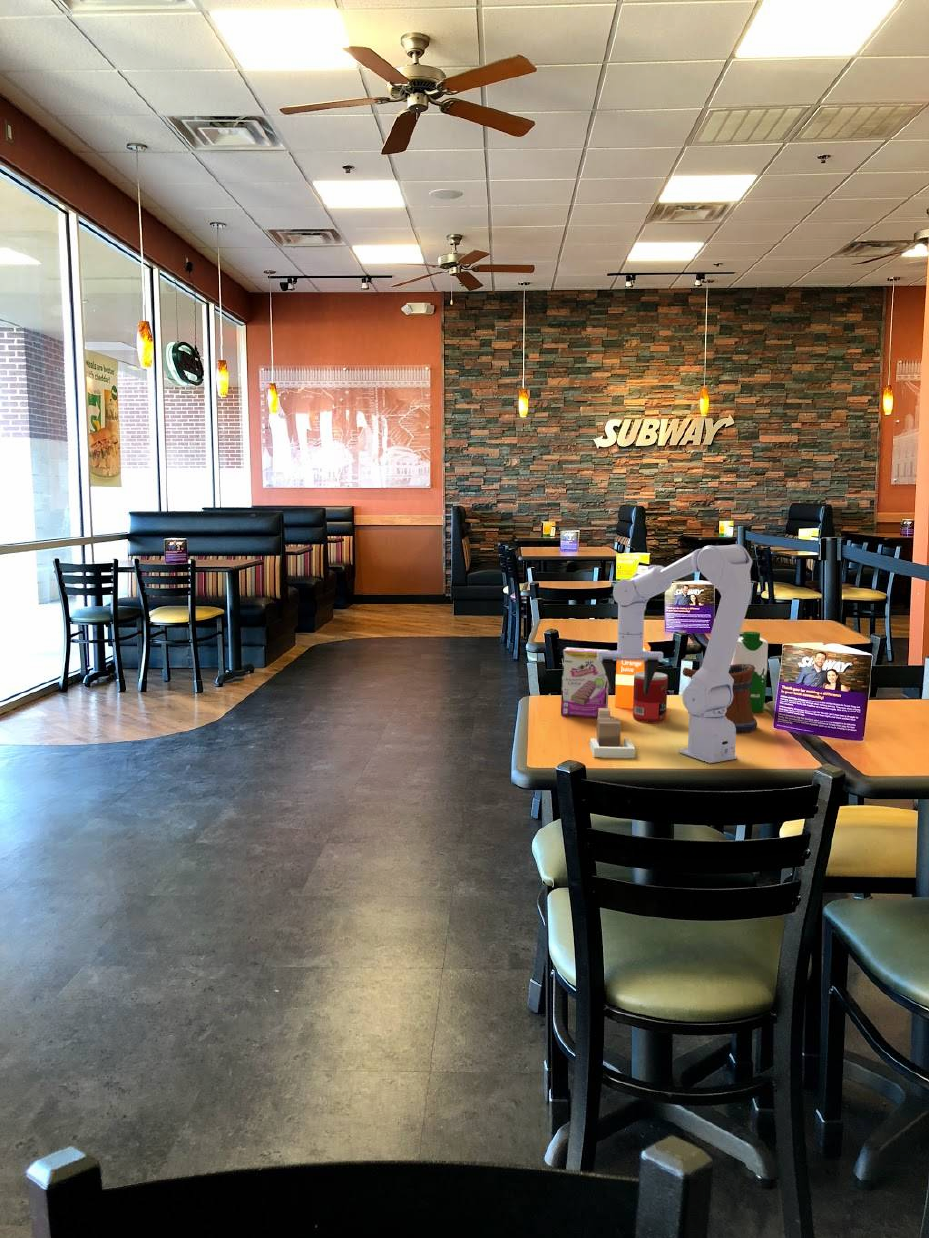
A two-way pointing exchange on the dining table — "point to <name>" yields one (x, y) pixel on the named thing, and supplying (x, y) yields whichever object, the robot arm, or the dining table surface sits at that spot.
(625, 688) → the orange juice
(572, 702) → the candy bar box
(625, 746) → the white u-shaped bracket
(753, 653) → the milk carton
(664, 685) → the canned food
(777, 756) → the dining table surface
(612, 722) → the block
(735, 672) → the mug
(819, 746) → the dining table surface
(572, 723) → the dining table surface
